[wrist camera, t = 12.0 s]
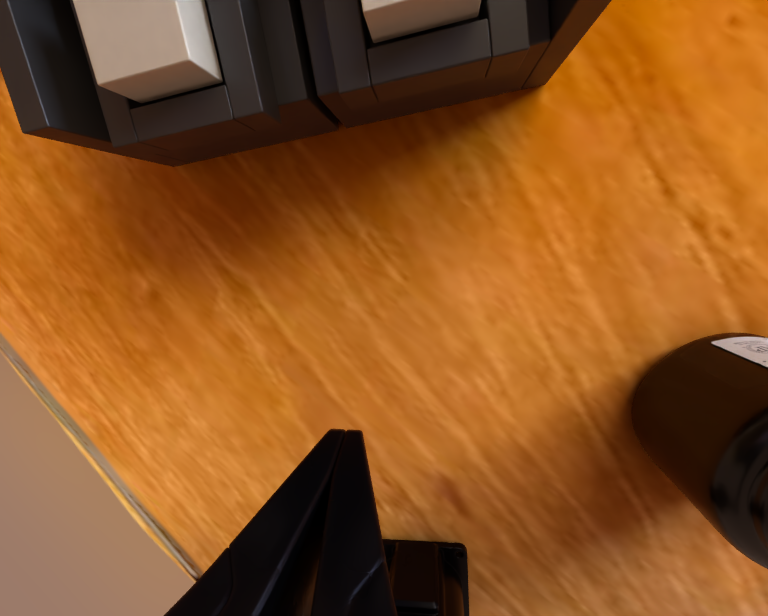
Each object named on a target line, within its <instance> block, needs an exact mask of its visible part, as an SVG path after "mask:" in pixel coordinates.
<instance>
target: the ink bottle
mask: <svg viewBox="0 0 768 616" xmlns="http://www.w3.org/2000/svg"><path fill="white" fill-rule="evenodd" d="M632 422H633V427H634V430H635V433H636V436H637V438H638V441H639V442H640V444H641V446H642V448H643V449H644V451H645V452H646V453H647V455H648V456H649V457H650V458H651V459H652V461H653V462H654V463H655V464H656V465H657V466H658V467H659V468H660V469H661V470H662V471H663V472H664V474H665V475H666V476H667V477H668V478H669V479H670V480H671V481H672V482H673V483H674V484H675V485H676V486H677V488H678V489H679V490H680V491H681V492H682V493H683V494H684V495H685V496H686V497H687V498H688V499H689V501H690V502H691V503H692V504H693V505H694V506H695V507H696V508H697V509H698V510H699V511H700V512H701V513H702V515H703V516H704V517H705V518H706V519H707V520H708V521H709V522H710V523H711V524H712V525H713V526H714V527H715V529H716V530H717V531H718V532H719V533H720V534H721V535H722V536H723V537H724V538H725V539H726V540H727V541H728V542H729V543H730V544H731V545H733V546H734V547H735V548H736V549H737V550H738V551H740V552H741V553H742V554H744V555H745V556H746V557H748V558H749V559H751V560H752V561H754V562H756V563H757V564H759V565H761V566H763V567H765V568H767V569H768V338H767V337H763V336H759V335H754V334H747V333H723V334H716V335H712V336H707V337H704V338H701V339H698V340H695V341H693V342H690V343H688V344H686V345H684V346H682V347H680V348H678V349H677V350H675V351H673V352H672V353H670V354H669V355H667V356H666V357H665V358H663V359H662V360H661V361H660V362H659V363H658V364H657V365H655V366H654V367H653V369H652V370H651V371H650V372H649V373H648V374H647V375H646V377H645V378H644V379H643V381H642V382H641V384H640V386H639V388H638V390H637V392H636V394H635V397H634V401H633V406H632Z"/></svg>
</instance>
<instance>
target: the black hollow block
mask: <svg viewBox="0 0 768 616" xmlns="http://www.w3.org/2000/svg"><path fill="white" fill-rule="evenodd" d="M610 2H611V0H549V13H550V29H551V41H550V43H549V44H548V46H547V47H546V49H545V50H544V52H543V54H542V55H541V57H540V58H539V60H538V62H537V63H536V65H535V66H534V68H533V69H532V71H531V73H530V74H529V76H528V77H527V79H526V81H525V82H524V84H523V85H522V87H521V89H527V88H531V87H536V86H540V85H545V84H546V83H547V82H548V80H549V79H550V78H551V77H552V75H553V74H554V73H555V71H556V70H557V69H558V68H559V66H560V65H561V64H562V63H563V61H564V60H565V59H566V58H567V56H568V55H569V54H570V52H571V51H572V50H573V49H574V47H575V46H576V45H577V44H578V42H579V41H580V40H581V38H582V37H583V36H584V35H585V33H586V32H587V31H588V30H589V28H590V27H591V26H592V25H593V23H594V22H595V21H596V19H597V18H598V17H599V16H600V14H601V13H602V12H603V11H604V9H605V8H606V7H607V5H608V4H609V3H610ZM0 68H1V71H2V74H3V77H4V80H5V83H6V86H7V89H8V92H9V94H10V97H11V100H12V103H13V106H14V109H15V112H16V115H17V118H18V121H19V124H20V127H21V130H22V132H23V133H24V134H29V135H33V136H38V137H42V138H47V139H51V140H56V141H60V142H65V143H69V144H74V145H78V146H83V147H87V148H92V149H96V150H100V151H105V152H109V153H114V154H118V155H123V156H127V157H132V158H136V159H141V160H145V161H150V162H154V163H159V164H163V165H168V166H172V167H174V166H178V165H183V164H187V163H190V162H187V161H183V160H179V159H175V158H171V157H167V156H163V155H159V154H153V155H148V156H146V155H142V154H138V153H134V152H130V151H126V150H122V149H117V148H114V147H113V146H112V142H111V139H110V135H109V132H108V129H107V125H106V122H105V118H104V115H103V112H102V108H101V105H100V102H99V98H98V95H97V91H96V88H95V85H94V81H93V78H92V74H91V71H90V68H89V64H88V61H87V57H86V54H85V51H84V47H83V44H82V41H81V37H80V34H79V30H78V27H77V24H76V20H75V17H74V13H73V10H72V7H71V3H70V0H0Z"/></svg>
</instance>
